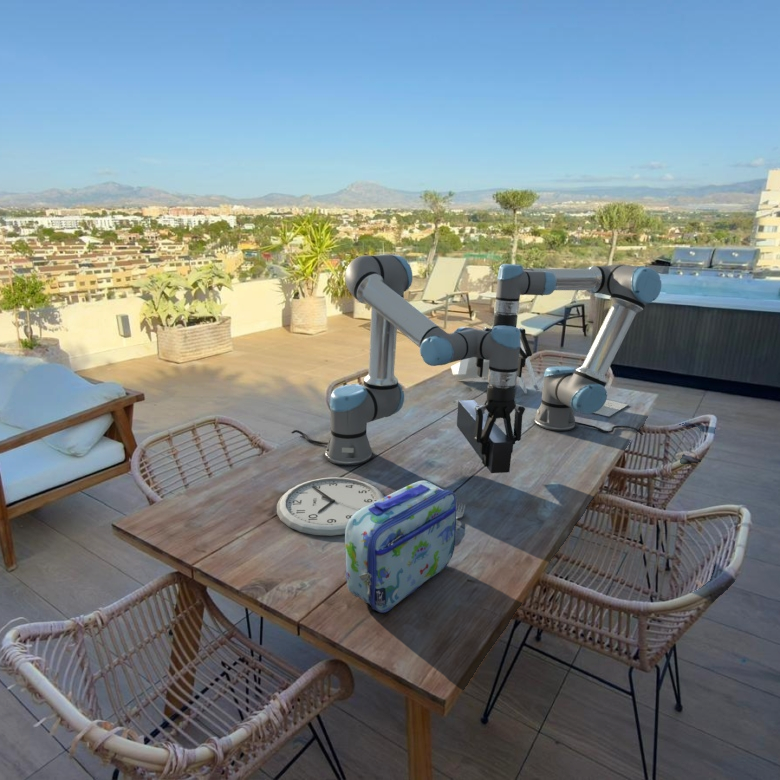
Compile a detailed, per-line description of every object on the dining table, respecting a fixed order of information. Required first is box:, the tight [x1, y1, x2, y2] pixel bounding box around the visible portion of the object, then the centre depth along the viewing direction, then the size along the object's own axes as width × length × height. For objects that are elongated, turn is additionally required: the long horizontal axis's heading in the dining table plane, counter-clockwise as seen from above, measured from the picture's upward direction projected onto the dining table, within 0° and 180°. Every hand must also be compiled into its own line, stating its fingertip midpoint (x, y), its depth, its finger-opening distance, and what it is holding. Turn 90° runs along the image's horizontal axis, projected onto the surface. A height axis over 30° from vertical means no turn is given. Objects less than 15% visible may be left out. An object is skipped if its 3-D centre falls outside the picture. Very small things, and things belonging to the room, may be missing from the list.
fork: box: [456, 501, 466, 520], centre depth 134 cm, size 3×16×2 cm, turn 160°
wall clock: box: [276, 476, 386, 537], centre depth 142 cm, size 30×2×30 cm
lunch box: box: [344, 480, 457, 614], centre depth 109 cm, size 26×11×21 cm, turn 135°
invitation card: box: [592, 399, 629, 418], centre depth 226 cm, size 21×1×15 cm
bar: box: [456, 399, 512, 474], centre depth 158 cm, size 36×5×9 cm, turn 8°
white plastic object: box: [450, 340, 540, 394], centre depth 253 cm, size 37×45×31 cm
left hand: (495, 463), depth 146 cm, fingers closed on bar, 5 cm apart
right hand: (499, 376), depth 176 cm, fingers open, 13 cm apart
